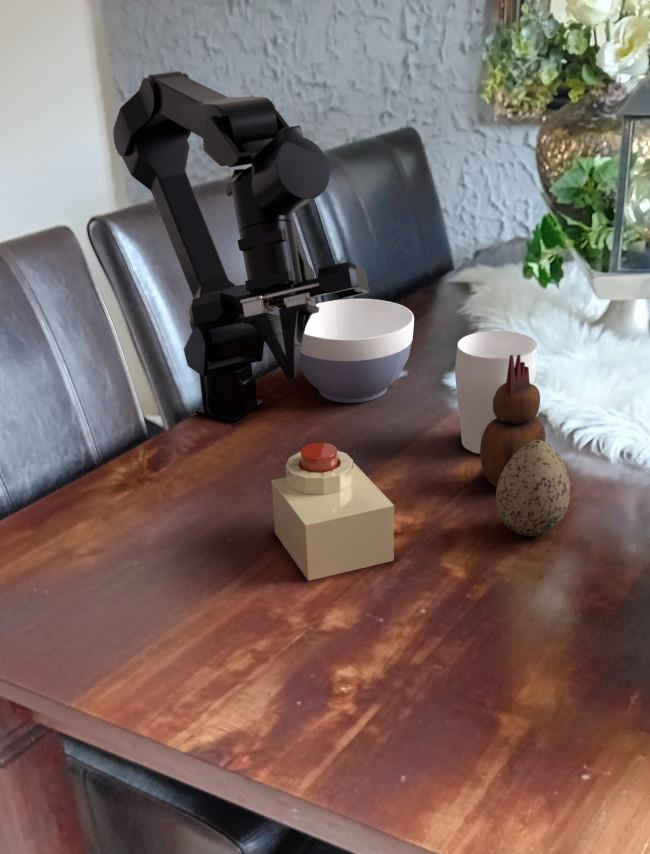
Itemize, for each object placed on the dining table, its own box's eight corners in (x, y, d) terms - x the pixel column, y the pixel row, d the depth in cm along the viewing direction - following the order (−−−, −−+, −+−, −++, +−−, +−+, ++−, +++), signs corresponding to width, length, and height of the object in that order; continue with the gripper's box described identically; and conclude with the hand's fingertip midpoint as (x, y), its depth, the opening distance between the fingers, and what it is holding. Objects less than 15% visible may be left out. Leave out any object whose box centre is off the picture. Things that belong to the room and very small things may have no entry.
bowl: (309, 421, 126) (306, 346, 121) (281, 376, 139) (277, 307, 133) (429, 403, 129) (431, 329, 123) (391, 361, 141) (391, 292, 136)
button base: (271, 528, 105) (265, 458, 100) (350, 510, 107) (349, 441, 102) (308, 581, 96) (304, 507, 92) (393, 561, 99) (394, 488, 94)
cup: (528, 462, 114) (538, 360, 107) (448, 459, 116) (453, 358, 109) (529, 429, 121) (538, 331, 114) (454, 426, 123) (458, 329, 116)
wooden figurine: (500, 501, 107) (511, 365, 98) (469, 480, 111) (476, 348, 102) (551, 484, 109) (566, 351, 101) (518, 464, 114) (530, 334, 105)
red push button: (296, 462, 100) (295, 446, 99) (329, 456, 101) (329, 439, 100) (308, 477, 97) (307, 461, 96) (343, 470, 98) (342, 454, 97)
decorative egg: (479, 525, 103) (485, 435, 97) (537, 508, 105) (546, 419, 100) (519, 557, 98) (528, 464, 92) (580, 538, 100) (592, 447, 94)
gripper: (368, 219, 110) (391, 363, 113) (213, 258, 116) (238, 395, 119) (343, 201, 100) (369, 360, 103) (174, 245, 106) (203, 395, 109)
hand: (292, 378), depth 108 cm, fingers closed
